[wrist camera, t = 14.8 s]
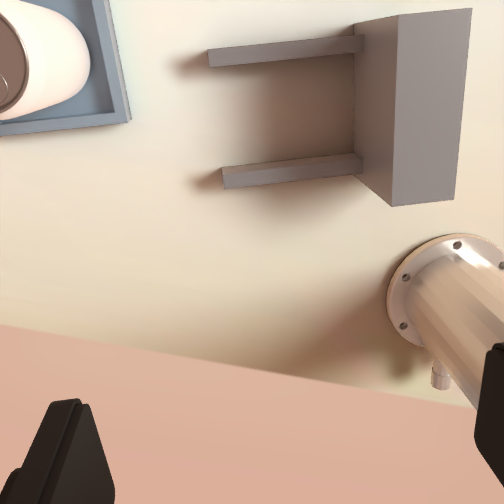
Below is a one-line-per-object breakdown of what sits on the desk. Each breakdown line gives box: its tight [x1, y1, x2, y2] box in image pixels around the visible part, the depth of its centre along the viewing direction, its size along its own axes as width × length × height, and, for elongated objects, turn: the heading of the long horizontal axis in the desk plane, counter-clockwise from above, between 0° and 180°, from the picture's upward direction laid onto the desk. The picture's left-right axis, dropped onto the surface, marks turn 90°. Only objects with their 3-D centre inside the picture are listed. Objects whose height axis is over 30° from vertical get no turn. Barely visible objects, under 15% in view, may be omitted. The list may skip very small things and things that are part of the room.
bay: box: [207, 8, 472, 207], centre depth 33 cm, size 12×16×9 cm
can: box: [0, 0, 90, 120], centre depth 28 cm, size 6×6×12 cm
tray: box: [0, 0, 132, 136], centre depth 33 cm, size 11×11×2 cm
